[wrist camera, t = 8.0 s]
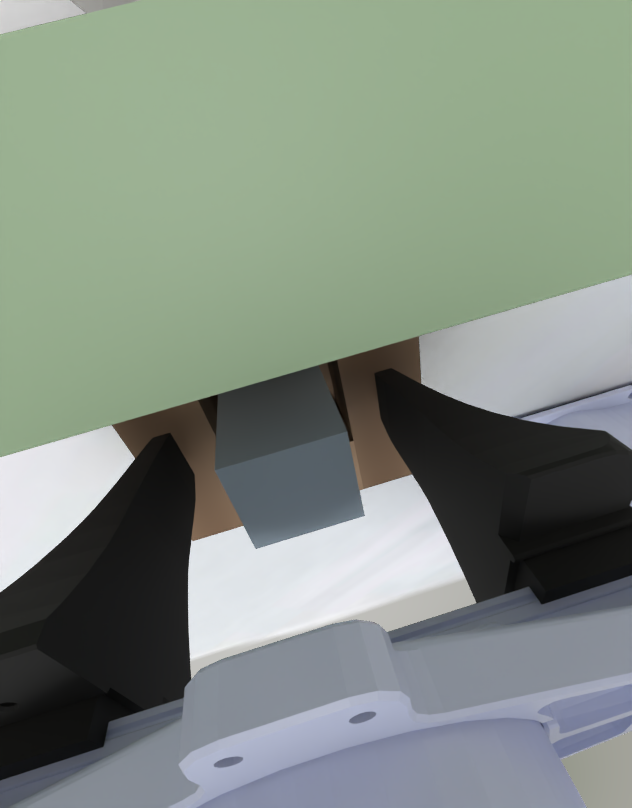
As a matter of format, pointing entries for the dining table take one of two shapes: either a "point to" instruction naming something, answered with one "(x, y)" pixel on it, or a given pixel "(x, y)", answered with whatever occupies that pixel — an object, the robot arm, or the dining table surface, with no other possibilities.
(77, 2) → the french press
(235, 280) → the socket holder
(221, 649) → the dining table surface
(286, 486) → the peg
